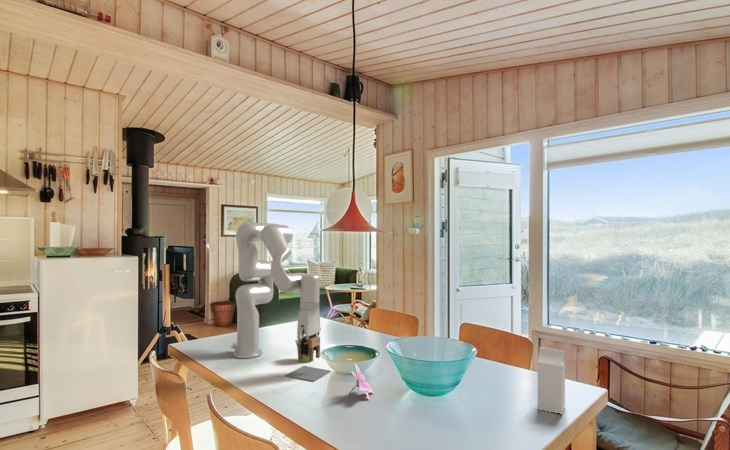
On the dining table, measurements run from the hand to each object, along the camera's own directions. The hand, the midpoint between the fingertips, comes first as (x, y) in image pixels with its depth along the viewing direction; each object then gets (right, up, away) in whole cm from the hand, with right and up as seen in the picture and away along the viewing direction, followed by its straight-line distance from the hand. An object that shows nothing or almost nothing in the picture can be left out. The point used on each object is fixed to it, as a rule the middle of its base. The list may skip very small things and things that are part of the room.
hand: (309, 351), depth 158 cm
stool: (0, -3, 0) cm, 3 cm away
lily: (+21, -9, -22) cm, 31 cm away
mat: (0, -9, 0) cm, 9 cm away
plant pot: (-4, -9, +17) cm, 20 cm away
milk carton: (+81, -9, -30) cm, 87 cm away
